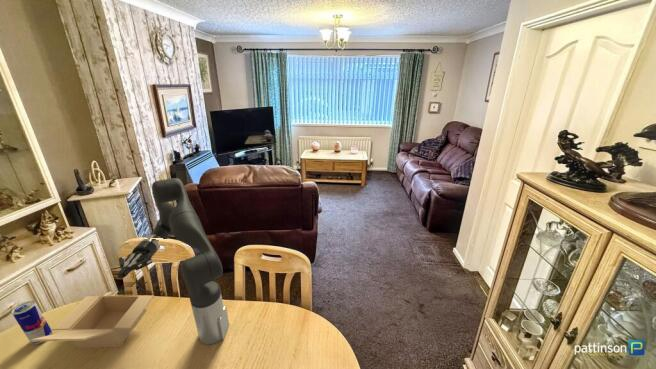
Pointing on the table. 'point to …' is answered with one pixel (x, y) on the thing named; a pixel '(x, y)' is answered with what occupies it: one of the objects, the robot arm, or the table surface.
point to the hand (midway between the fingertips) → (120, 276)
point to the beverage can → (31, 321)
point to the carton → (105, 318)
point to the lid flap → (72, 335)
